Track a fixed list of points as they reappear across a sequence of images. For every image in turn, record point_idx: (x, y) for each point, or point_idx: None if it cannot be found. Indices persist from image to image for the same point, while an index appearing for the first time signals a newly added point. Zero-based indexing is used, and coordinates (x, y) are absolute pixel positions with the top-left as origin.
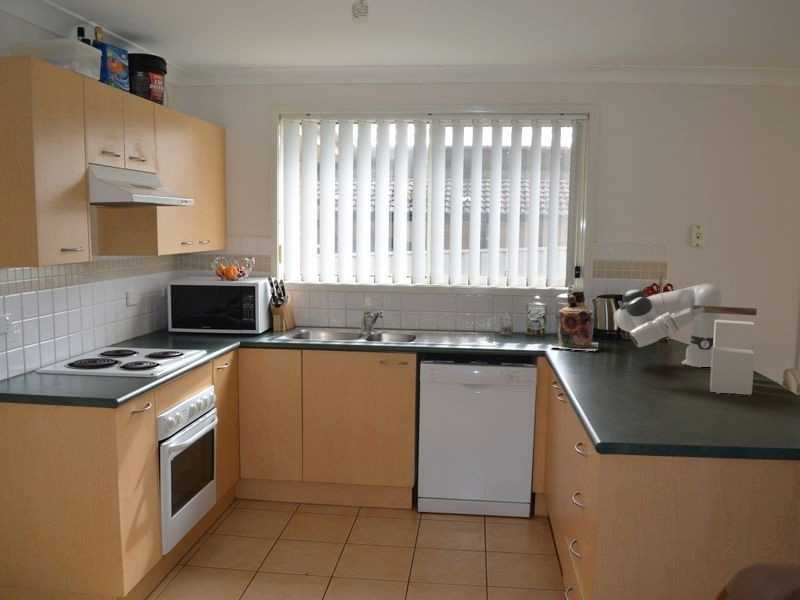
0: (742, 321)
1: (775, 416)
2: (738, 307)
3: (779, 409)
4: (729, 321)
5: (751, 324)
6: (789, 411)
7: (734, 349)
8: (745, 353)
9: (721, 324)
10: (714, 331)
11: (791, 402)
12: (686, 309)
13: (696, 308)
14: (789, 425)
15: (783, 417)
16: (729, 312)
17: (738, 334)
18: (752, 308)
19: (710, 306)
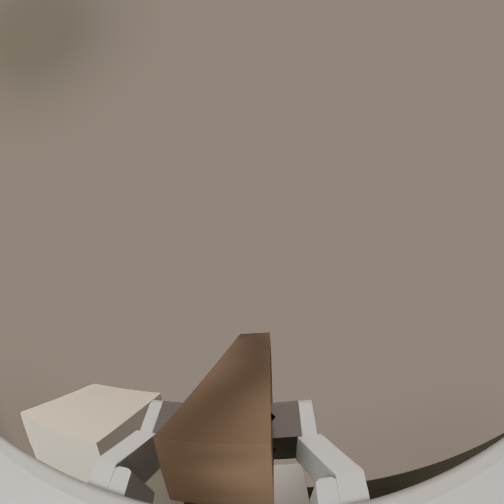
0: (84, 392)
1: None
2: (238, 343)
3: (393, 488)
4: (80, 409)
5: (156, 397)
6: (395, 478)
7: None
8: (304, 477)
9: (111, 442)
10: (52, 462)
11: (311, 488)
12: (37, 494)
13: (272, 452)
14: (483, 446)
15: (447, 467)
16: (271, 375)
17: None
18: (258, 334)
19: (262, 376)
